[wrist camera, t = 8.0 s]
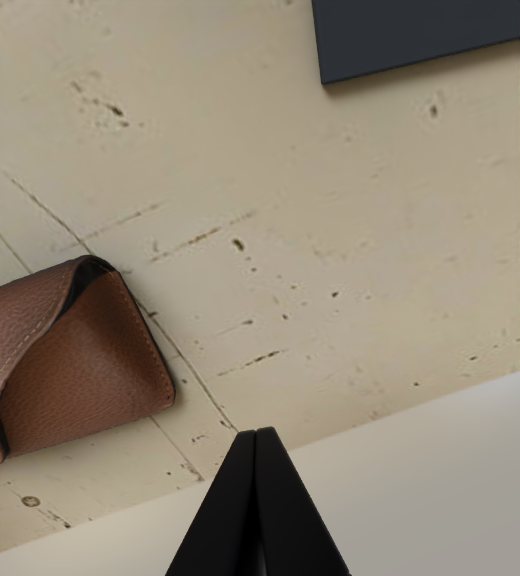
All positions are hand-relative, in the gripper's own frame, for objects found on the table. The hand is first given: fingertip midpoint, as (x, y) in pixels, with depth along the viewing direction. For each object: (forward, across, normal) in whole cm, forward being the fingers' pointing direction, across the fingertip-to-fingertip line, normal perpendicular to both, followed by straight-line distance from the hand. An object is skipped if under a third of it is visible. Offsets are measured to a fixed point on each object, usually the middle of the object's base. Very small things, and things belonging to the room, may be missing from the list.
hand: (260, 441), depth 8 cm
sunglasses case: (+8, +14, +2) cm, 16 cm away
